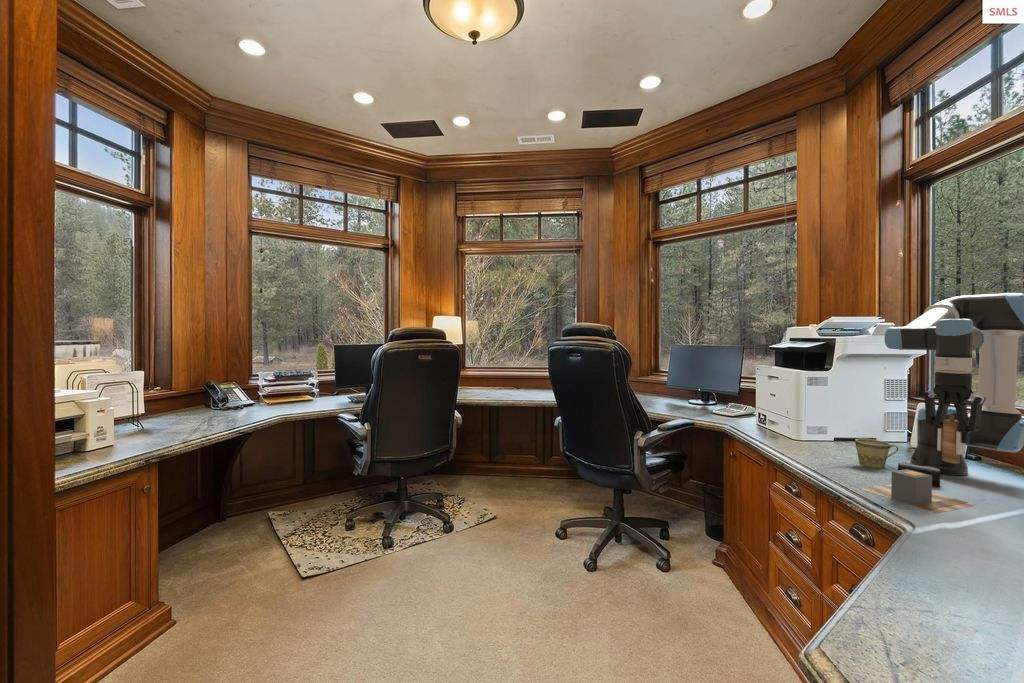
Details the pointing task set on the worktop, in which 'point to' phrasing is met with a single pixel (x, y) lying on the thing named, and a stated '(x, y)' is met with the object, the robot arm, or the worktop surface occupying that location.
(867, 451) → the ceramic cup
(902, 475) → the grey box with label
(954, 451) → the wooden tool handle
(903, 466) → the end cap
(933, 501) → the birch board
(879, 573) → the worktop surface
